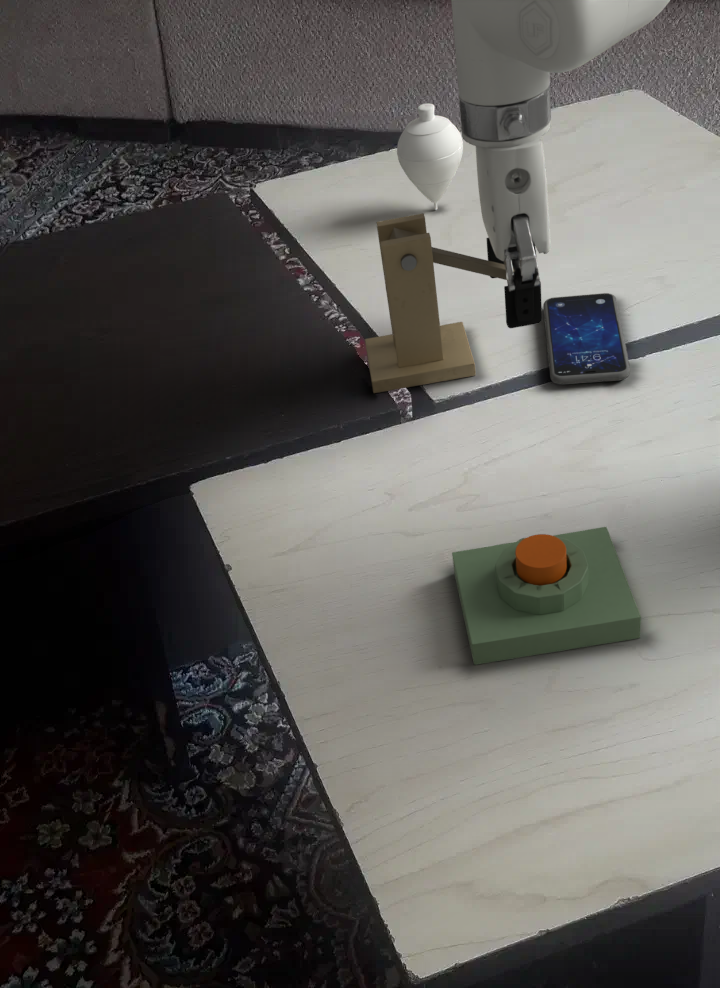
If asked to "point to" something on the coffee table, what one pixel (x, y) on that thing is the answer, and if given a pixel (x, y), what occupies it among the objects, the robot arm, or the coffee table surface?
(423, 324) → the lever bracket
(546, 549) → the button
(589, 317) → the smartphone
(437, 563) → the coffee table surface
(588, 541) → the control block
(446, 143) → the spinning top
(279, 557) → the coffee table surface
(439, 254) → the press lever
